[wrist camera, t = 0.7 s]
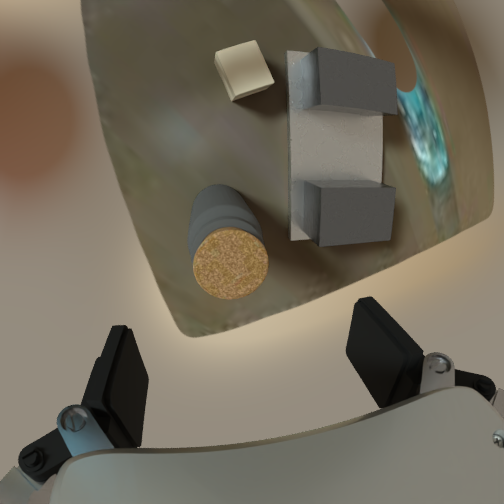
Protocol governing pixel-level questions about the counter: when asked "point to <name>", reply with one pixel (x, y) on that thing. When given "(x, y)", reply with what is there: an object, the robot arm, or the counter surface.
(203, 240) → the bottle
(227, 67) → the loose block
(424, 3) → the counter surface
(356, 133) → the board
